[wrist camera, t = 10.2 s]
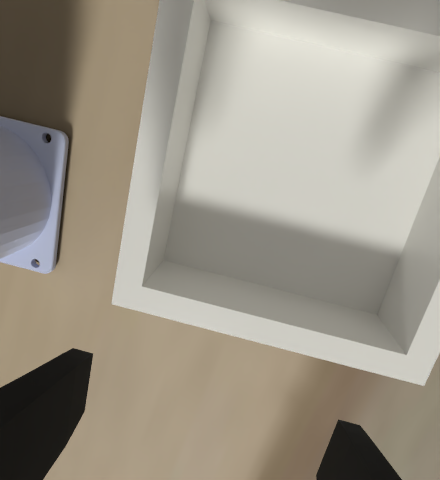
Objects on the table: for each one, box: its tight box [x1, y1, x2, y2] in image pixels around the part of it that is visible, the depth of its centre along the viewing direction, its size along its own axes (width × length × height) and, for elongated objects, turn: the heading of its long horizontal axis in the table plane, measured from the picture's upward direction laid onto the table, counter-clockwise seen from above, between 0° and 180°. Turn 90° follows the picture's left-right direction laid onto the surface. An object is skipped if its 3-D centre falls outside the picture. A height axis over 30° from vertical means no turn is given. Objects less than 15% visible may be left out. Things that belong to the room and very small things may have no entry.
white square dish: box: [112, 0, 440, 386], centre depth 15 cm, size 14×14×4 cm
